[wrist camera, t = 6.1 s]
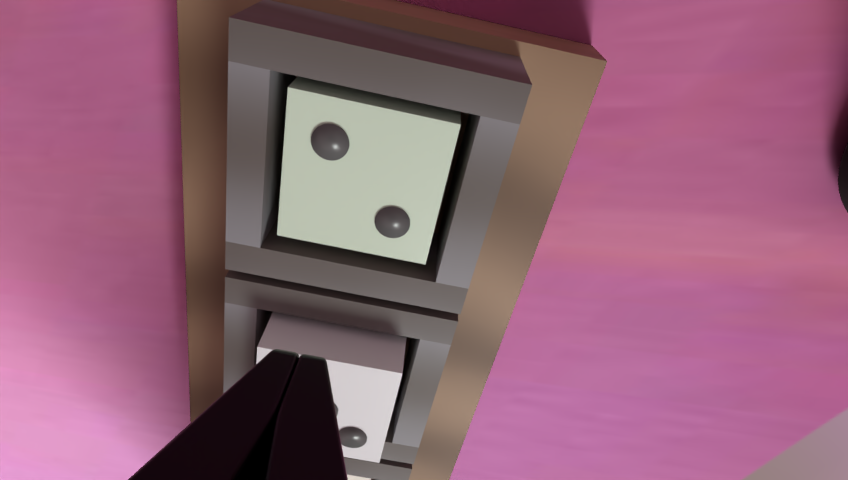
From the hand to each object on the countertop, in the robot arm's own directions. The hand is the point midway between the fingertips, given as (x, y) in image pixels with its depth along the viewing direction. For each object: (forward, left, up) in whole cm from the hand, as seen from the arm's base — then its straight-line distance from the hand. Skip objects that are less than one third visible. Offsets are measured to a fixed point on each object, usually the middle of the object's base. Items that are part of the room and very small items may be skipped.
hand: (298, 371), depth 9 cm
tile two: (0, 0, -9) cm, 9 cm away
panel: (-8, 0, -12) cm, 14 cm away
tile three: (-8, 0, -8) cm, 11 cm away
